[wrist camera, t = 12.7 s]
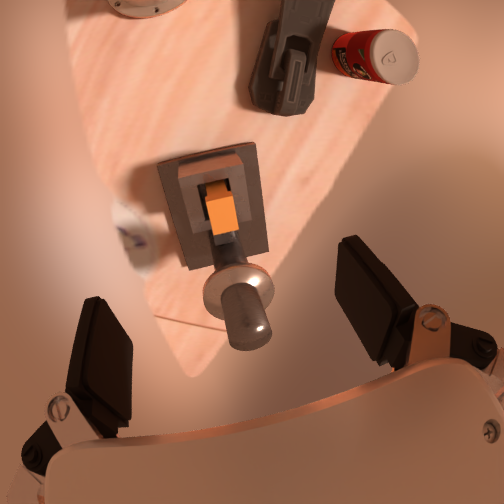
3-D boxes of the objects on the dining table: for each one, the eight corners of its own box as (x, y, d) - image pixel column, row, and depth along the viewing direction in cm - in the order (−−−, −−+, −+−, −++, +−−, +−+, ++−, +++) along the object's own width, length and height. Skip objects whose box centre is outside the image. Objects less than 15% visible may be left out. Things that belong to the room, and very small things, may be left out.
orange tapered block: (200, 171, 39) (205, 201, 31) (221, 166, 39) (232, 195, 31) (206, 198, 42) (213, 235, 33) (226, 194, 42) (238, 229, 34)
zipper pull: (351, -35, 20) (323, 126, 33) (329, -24, 25) (303, 118, 39) (286, -57, 17) (255, 116, 31) (271, -41, 23) (244, 109, 36)
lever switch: (157, 163, 38) (138, 245, 21) (253, 142, 39) (312, 205, 22) (189, 266, 49) (199, 371, 33) (267, 247, 51) (310, 343, 34)
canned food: (320, 52, 33) (361, 51, 24) (352, 23, 30) (397, 18, 22) (352, 88, 37) (396, 98, 28) (381, 59, 34) (428, 64, 26)
